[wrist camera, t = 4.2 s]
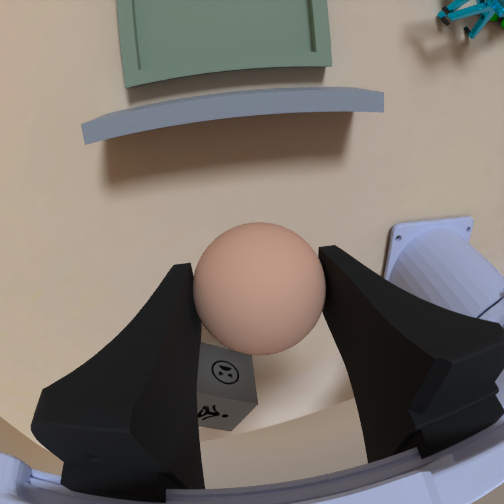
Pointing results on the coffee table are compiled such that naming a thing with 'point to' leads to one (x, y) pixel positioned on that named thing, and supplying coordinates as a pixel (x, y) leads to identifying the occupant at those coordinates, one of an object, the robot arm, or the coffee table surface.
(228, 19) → the green tray
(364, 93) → the low wall
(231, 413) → the dice cube
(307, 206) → the coffee table surface
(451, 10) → the stick construction toy
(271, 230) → the rubber ball
